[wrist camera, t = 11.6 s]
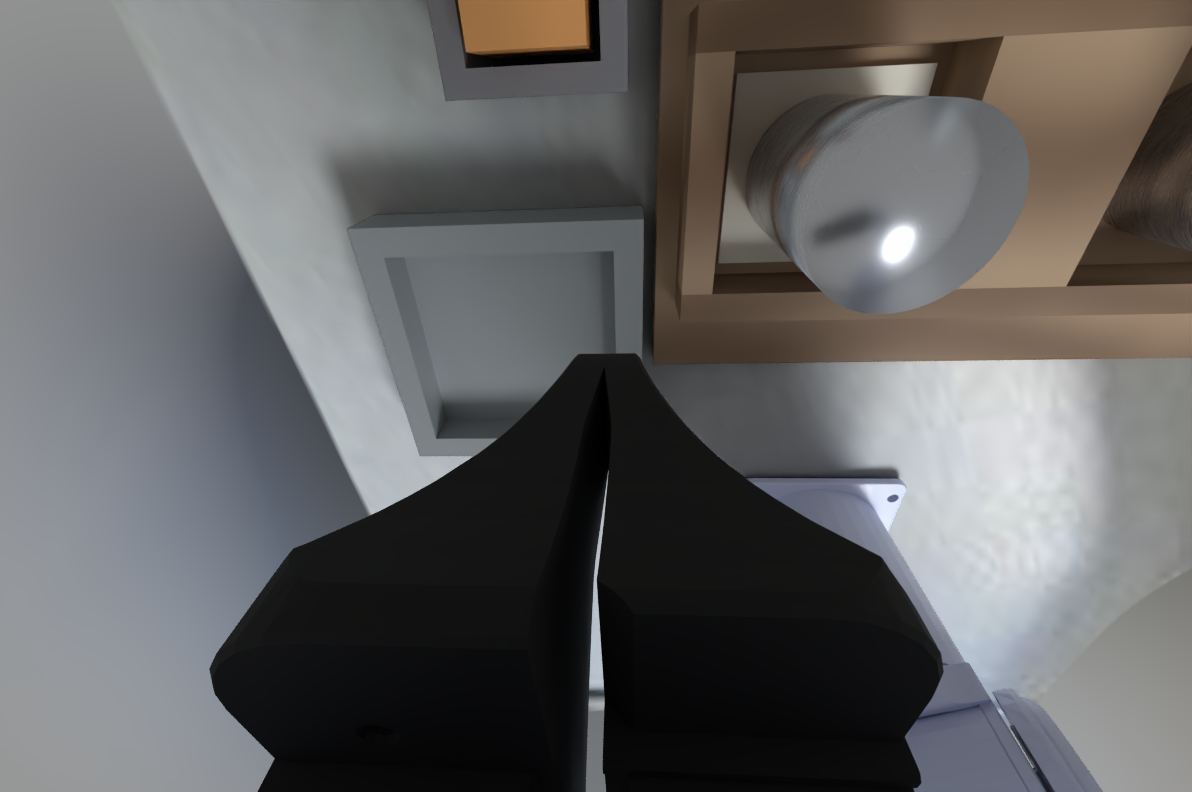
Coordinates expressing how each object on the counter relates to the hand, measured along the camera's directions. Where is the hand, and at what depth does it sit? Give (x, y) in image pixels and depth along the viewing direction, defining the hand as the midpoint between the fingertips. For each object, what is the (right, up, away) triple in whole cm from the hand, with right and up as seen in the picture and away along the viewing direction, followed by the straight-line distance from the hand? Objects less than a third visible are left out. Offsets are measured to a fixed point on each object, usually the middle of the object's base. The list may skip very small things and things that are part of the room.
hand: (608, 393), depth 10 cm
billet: (+7, +7, +5) cm, 11 cm away
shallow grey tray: (-3, +3, +10) cm, 11 cm away
